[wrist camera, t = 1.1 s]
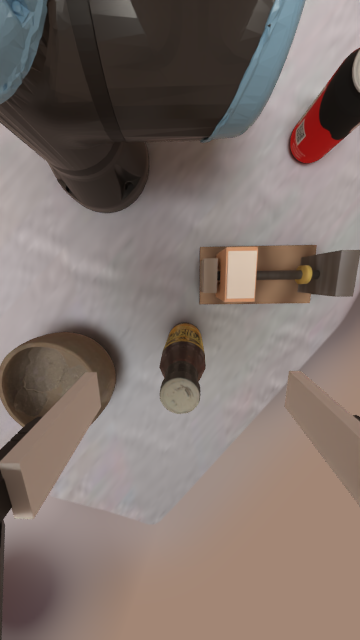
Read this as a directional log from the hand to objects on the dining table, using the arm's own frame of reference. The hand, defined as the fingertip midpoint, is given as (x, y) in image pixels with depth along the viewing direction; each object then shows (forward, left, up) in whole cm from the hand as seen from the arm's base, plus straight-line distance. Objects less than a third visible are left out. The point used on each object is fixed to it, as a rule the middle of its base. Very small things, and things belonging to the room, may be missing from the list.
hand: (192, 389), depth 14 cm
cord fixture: (-8, +13, -25) cm, 29 cm away
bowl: (+10, -21, -25) cm, 34 cm away
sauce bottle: (+4, 0, -25) cm, 25 cm away
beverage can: (-28, +20, -25) cm, 43 cm away
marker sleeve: (-8, +7, -22) cm, 24 cm away
